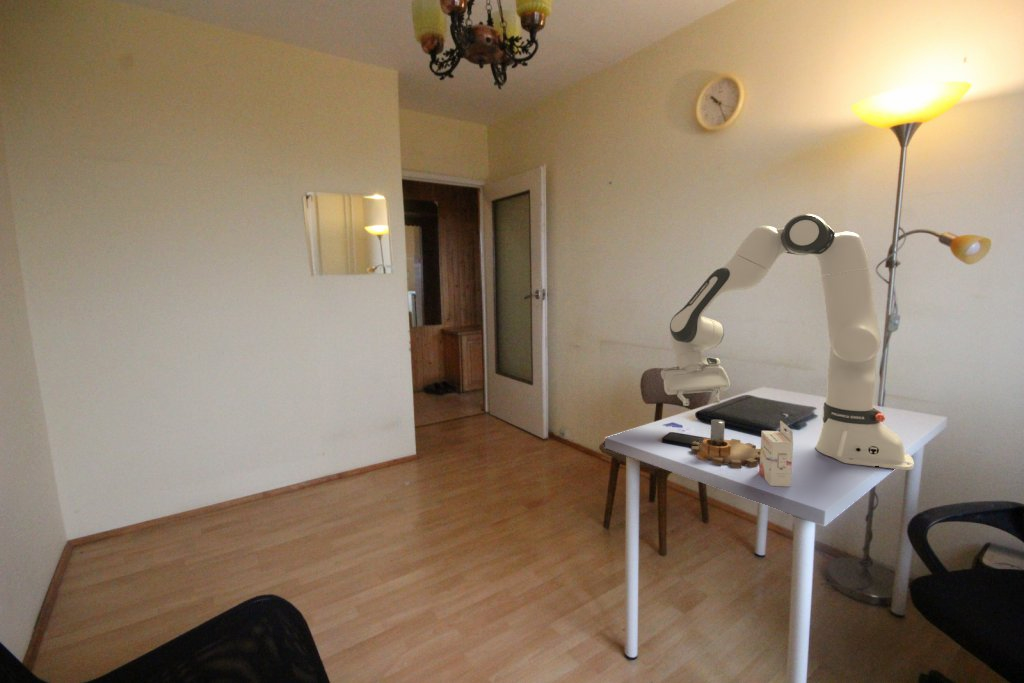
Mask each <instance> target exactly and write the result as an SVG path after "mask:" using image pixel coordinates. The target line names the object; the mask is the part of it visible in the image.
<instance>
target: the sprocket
mask: <svg viewBox="0 0 1024 683" xmlns="http://www.w3.org/2000/svg"><path fill="white" fill-rule="evenodd" d="M703 439H704V440H703V441H702V443H699V442H700V441H699V442H696V441H697V440H694V441H692V443H691V447H690V452H691V453H692V454H693V455H697V456H696V457H697V458H698V459H699V458H700V460H702V461H711V462H712V465H717V466H720V467H721V466H723V465H730V466H731V468H736V469H737V468H740V469H742V466H748V467H750V468H754V467H758V466H759V464H760V451H761V448H757V446H756V445H755V444H753V443H750V442H747V443H746V442H745V443H743V442H742V441H741V440H740V439H736V438H731V439H730V440H729V439H724V446H721V447H718V446H712V445H710V437H709V438H708V437H703ZM692 445H698V446H692ZM708 459H709V460H708Z"/></svg>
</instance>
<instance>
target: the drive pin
mask: <svg viewBox="0 0 1024 683" xmlns="http://www.w3.org/2000/svg"><path fill="white" fill-rule="evenodd" d="M725 423H726V421H724V420H723V419H711V421H710V437H709V438H710V445H712V446H718V447H721V446H724V440H725V429H726V428H725V425H726V424H725Z"/></svg>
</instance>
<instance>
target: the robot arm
mask: <svg viewBox="0 0 1024 683" xmlns="http://www.w3.org/2000/svg"><path fill="white" fill-rule="evenodd" d="M783 254H790V255H792V254H793V255H795V256H807V255H813V256H815V258H817V260H818V261H819V262H818V263H819V266H820V272H821V273H820V275H821V279H822V280H821V281H822V286H823V296H824V303H825V312H826V318H827V319H826V320H827V328H828V336H829V343H830V347H829V348H830V349H829V351H830V352H829V358H828V360H829V361H828V362H829V363H828V370H827V371H828V372H827V383H826V398H825V402H824V403H823V407H822V418H821V419H822V422H823V423H822V428H821V432H820V435H819V438H818V441H817V443H816V445H815V449H816V450H817V451H818V452H819V453H821V454H823V455H825V456H828V457H831V458H833V459H836V460H837V461H839V462H841V463H844V464H849V465H858V466H867V467H868V466H869V467H875V466H879V467H878V468H883V469H884V468H887V469H894V470H904V471H910V470H912V469H913V468H914V467H915V461H914V458H913V457H912V456H911V455H910V454H909V453H907V452H905V446H904V443H903V441H902V439H901V437H900V436H899V435H898V434H897V433H895V432H894V431H893V430H892V429H890V428H888V426H886V425H884V424H883V422H884V421H885V420H886V418H885V415H884V413H882V412H881V411H880V410H879V409H878V408H876V407H875V408H874V401H875V400H874V399H875V398H874V397H875V389H876V375H877V373H876V372H877V356H878V355H877V354H878V351H879V350H880V348H881V337H880V328H879V322H878V321H879V320H878V316H877V310H876V304H875V297H874V291H873V290H874V289H873V283H872V275H871V268H870V263H869V262H870V261H869V258H868V257H869V256H868V254H867V250H866V247H865V244H864V241H863V239H862V237H861V236H860V235H859V234H857V233H855V232H852V231H840V232H835V231H834V229H832V227H831V226H829V224H828V223H826V221H825V220H824V219H822V217H820V216H818V215H815V214H812V213H804V214H800V215H799V214H798V215H796V216H795V217H792V218H791V219H790V220H788V221H787V223H786V224H785V226H784V227H782V228H778V227H777V228H776V227H774V226H772V225H771V226H770V225H760V226H756V227H755V228H754V229H752V231H751V232H750V233H749V234H748V235H747V236H746V237H745V239H744V240H742V242H741V243H740V246H738V248H737V250H736V251H735V253H734V254H733V256H732V257H731V258H730V259H729V260H728V261H727V262H726V263H725V264H724V265H723V266H721V267H720V268H718V269H716V270H714V271H712V273H711V274H710V275H709V277H707V278H706V280H705V281H704V282H703V283H702V285H701V286H700V287H699V288H698V289H697V290H696V292H695V293H694V294H693V296H692V297H691V298H690V299H689V300H688V301H687V303H686V304H685V305H684V306H683V307H682V308H681V309H680V310H679V311H678V312H677V313H675V314H674V315H673V317H671V320H670V323H669V341H670V346H671V350H672V353H673V354H674V362H675V365H676V366H673V367H672V366H671V367H664V368H663V369H661V371H660V377H661V379H662V380H663V389H664V392H665V393H666V394H667V395H668V396H670V395H671V396H672V395H677V398H678V399H679V400H680V401H681V402H682V405H683V407H685V406H690V399H689V398H686V397H685V396H684V394H685V395H686V394H697V393H710V392H713V394H714V395H715V396H713V398H712V402H713V404H716V405H717V404H720V402H721V400H720V394H721V392H726V391H727V390H728V389H729V388H730V385H731V381H730V378H729V376H728V374H727V371H726V370H725V368H723V367H722V366H721V360H720V359H719V358H715V357H710V356H707V355H703V352H706V351H709V350H711V349H714V348H716V347H717V346H718V345H720V344H721V343H722V341H723V340H724V336H725V330H724V325H723V324H722V323H721V322H719V321H717V320H715V319H712V318H709V317H707V316H703V314H705V312H706V311H708V309H709V307H710V306H711V305H712V304H713V303H714V301H715V300H716V299H717V298H718V297H719V296H721V295H722V294H724V293H728V292H730V291H741V290H742V291H743V290H748V289H752V288H754V287H756V286H758V284H760V283H761V282H762V281H763V279H764V278H765V277H766V276H767V275H768V272H769V271H770V270H771V268H772V266H773V264H774V263H775V262H776V261H777V259H778V258H779V257H780V256H782V255H783Z"/></svg>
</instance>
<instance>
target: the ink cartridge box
mask: <svg viewBox="0 0 1024 683" xmlns="http://www.w3.org/2000/svg"><path fill="white" fill-rule="evenodd" d="M779 427H780V428H779V429H780V431H778V430H777V431H776V430H761V434H760V436H761V438H760V449H761V451H760V463H759V469H758V470H759V473H760V475H762V477H763V479H764V480H766V482H767V483H768V484H769V486H770V487H791V484H792V482H791V480H792V465H793V464H792V463H793V452H794V451H793V450H794V440H793V438H794V435H793V434H794V433H793V430H792V429H791V428H790V427H789V426H788V425H787V424H786V423H784V422H783V421H782V420H780V421H779Z"/></svg>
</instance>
